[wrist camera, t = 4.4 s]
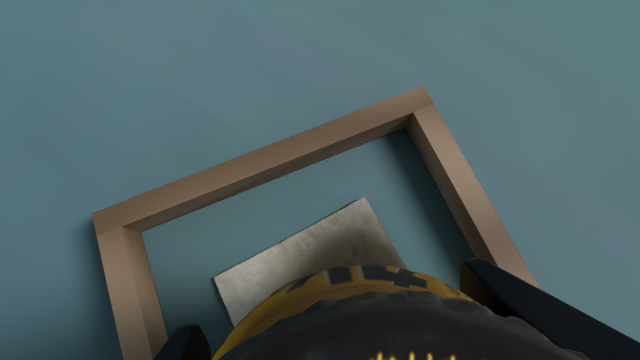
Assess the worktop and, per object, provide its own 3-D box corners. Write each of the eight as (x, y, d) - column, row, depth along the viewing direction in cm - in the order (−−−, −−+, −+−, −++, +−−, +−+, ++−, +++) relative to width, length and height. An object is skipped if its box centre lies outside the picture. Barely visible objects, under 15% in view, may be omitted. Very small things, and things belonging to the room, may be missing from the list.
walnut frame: (619, 468, 12) (657, 493, 11) (221, 678, 11) (205, 738, 9) (414, 102, 17) (423, 85, 15) (114, 219, 15) (91, 213, 14)
